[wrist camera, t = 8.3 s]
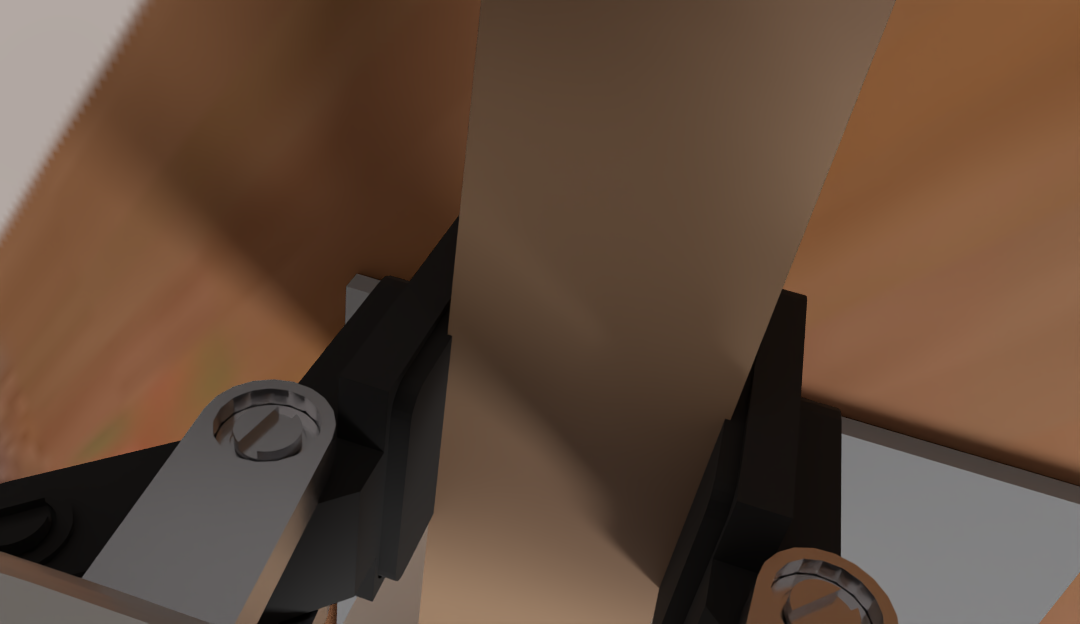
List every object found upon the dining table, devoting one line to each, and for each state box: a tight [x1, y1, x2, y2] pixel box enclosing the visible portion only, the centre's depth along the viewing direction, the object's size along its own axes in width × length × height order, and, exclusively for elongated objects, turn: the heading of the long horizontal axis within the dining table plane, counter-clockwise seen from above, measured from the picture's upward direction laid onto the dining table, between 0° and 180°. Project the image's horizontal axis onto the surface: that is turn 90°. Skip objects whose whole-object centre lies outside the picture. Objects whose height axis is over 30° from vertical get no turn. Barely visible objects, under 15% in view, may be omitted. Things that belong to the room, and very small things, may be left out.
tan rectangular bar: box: [418, 0, 896, 624], centre depth 12 cm, size 18×3×4 cm, turn 171°
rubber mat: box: [337, 274, 1080, 624], centre depth 26 cm, size 16×18×1 cm
